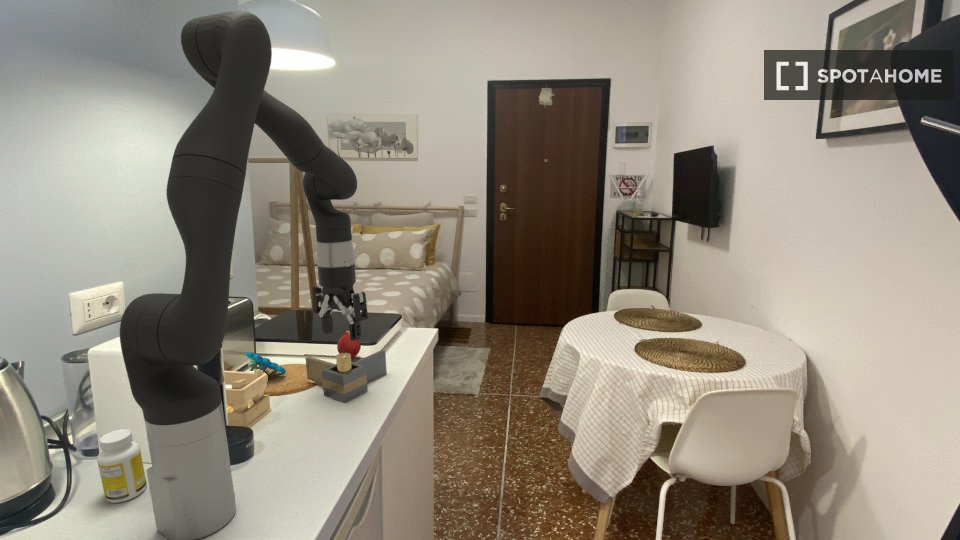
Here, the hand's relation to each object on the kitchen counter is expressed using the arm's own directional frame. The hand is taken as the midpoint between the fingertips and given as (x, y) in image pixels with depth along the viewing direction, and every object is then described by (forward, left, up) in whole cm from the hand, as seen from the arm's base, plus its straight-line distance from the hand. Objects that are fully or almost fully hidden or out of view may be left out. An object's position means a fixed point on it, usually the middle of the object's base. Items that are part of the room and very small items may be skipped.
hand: (341, 336), depth 108 cm
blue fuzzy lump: (-4, +23, -14) cm, 27 cm away
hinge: (+5, +5, -13) cm, 15 cm away
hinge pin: (0, 0, -13) cm, 13 cm away
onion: (+14, +14, -14) cm, 24 cm away
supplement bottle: (-42, +3, -14) cm, 44 cm away
